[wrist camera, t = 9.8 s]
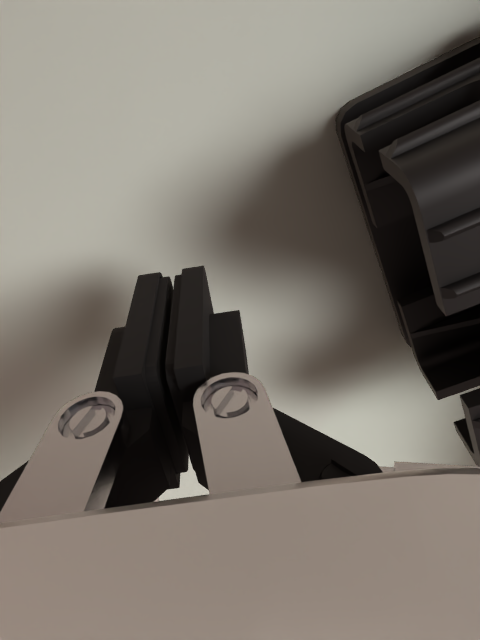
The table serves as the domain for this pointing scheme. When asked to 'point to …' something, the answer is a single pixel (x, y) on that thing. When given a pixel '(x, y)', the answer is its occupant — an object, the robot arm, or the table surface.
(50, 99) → the table surface
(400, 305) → the end cap
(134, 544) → the robot arm
